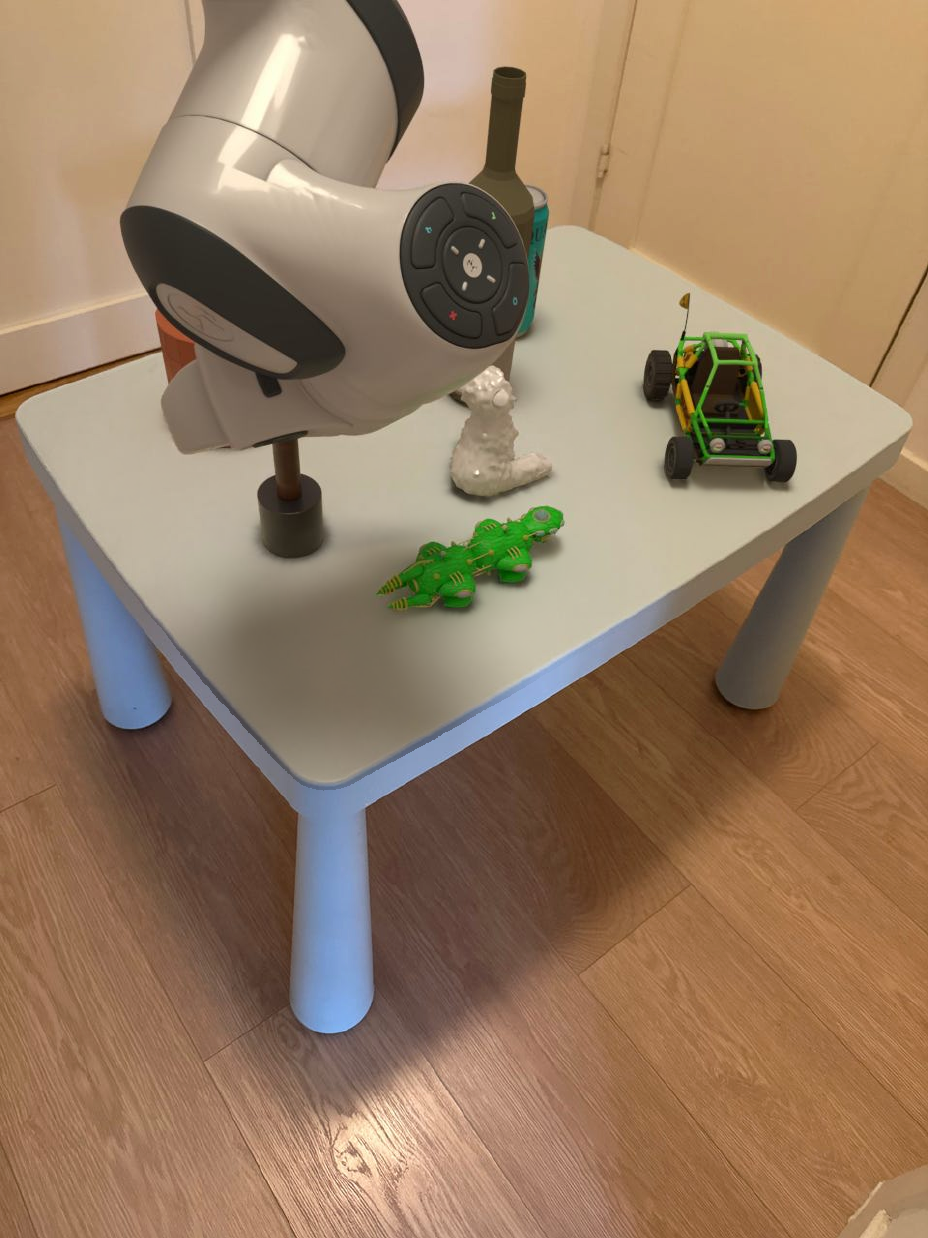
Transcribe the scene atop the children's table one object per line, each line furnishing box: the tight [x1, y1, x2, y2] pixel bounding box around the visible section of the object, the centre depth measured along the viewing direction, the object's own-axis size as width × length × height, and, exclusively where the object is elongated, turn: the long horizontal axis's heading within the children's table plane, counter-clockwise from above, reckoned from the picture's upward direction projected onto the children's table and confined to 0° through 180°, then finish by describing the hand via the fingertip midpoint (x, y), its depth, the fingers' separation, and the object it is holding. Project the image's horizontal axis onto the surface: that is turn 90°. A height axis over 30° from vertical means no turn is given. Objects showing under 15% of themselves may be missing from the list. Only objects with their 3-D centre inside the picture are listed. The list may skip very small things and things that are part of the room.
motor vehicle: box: [643, 292, 798, 483], centre depth 90 cm, size 12×19×11 cm, turn 3°
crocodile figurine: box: [375, 505, 566, 611], centre depth 77 cm, size 7×18×4 cm, turn 124°
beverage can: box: [516, 183, 550, 339], centre depth 98 cm, size 6×6×15 cm
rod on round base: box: [256, 439, 325, 559], centre depth 70 cm, size 5×5×24 cm
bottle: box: [449, 66, 535, 404], centre depth 84 cm, size 7×7×30 cm
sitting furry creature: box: [448, 365, 553, 498], centre depth 82 cm, size 10×9×12 cm
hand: (293, 403), depth 67 cm, fingers open, 8 cm apart
